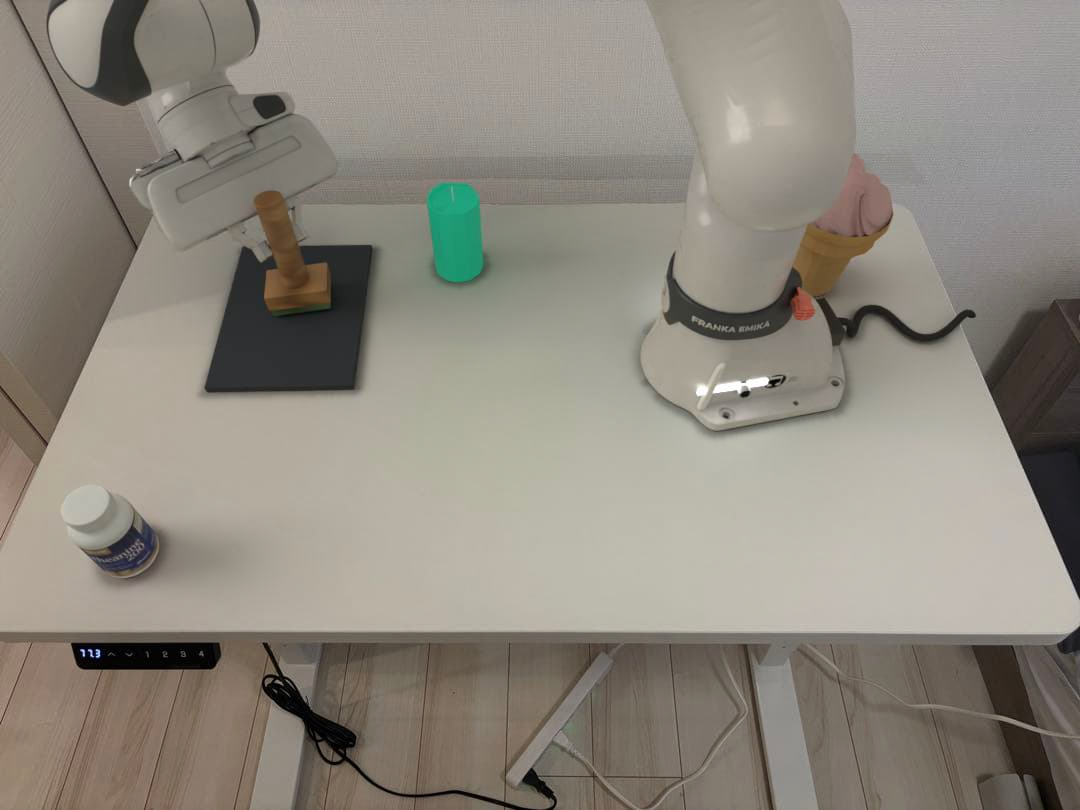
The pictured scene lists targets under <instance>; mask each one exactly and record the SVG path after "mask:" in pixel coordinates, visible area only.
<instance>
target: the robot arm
mask: <svg viewBox="0 0 1080 810" xmlns="http://www.w3.org/2000/svg"><path fill="white" fill-rule="evenodd" d="M644 1H645V3H646V5H647V8H648V10H649V12H650V15H651V17H652V19H653V22H654V24H655V27H656V30H657V33H658V36H659V39H660V42H661V44H662V48H663V51H664V53H665V58H666V61H667V64H668V68H669V70H670V74H671V76H672V79H673V83H674V85H675V88H676V91H677V94H678V97H679V100H680V102H681V105H682V109H683V111H684V113H685V116H686V119H687V121H688V125H689V127H690V129H691V132H692V134H693V138H694V141H695V149H694V156H693V160H692V167H691V171H690V177H689V183H688V188H687V194H686V199H685V204H684V209H683V214H682V219H681V223H680V228H679V233H678V239H677V244H676V249H675V250H674V252H673V253H672V255H671V257H670V260H669V263H668V266H667V270H666V274H665V276H664V278H663V279H664V280H663V285H662V290H661V297H660V307H661V308H660V311H659V312H658V315H657V318H656V319H655V322H654V324H653V326H652V327H651V328H650V330H649V332H648V333H647V335H646V336H645V338H644V339H643V341H642V344H641V347H640V353H639V357H640V359H639V361H640V365H641V370H642V372H643V374H644V376H645V378H646V380H647V381H648V383H649V384H650V386H651V387H652V388H653V389H654V390H655V391H656V392H657V393H658V394H659V395H660V396H661V397H663V398H664V399H666V400H667V401H669V402H670V403H672V404H674V405H676V406H677V407H679V408H682V409H684V410H686V411H688V412H689V413H691V414H692V415H693V416H694V417H695V418H696V419H697V420H698V421H699V422H700V423H701V424H702V425H703V426H704V427H705V428H707V429H708V430H710V431H715V432H720V431H726V430H731V429H736V428H741V427H746V426H747V427H748V426H752V425H757V424H763V423H766V422H773V421H778V420H783V419H789V418H794V417H800V416H803V415H808V414H809V415H810V414H815V413H819V412H824V411H830V410H834V409H836V408H838V406H839V404H840V403H841V400H842V398H843V394H844V391H845V384H846V376H845V368H844V363H843V359H842V356H841V352H840V349H839V347H838V346H840V345H841V343H842V341H843V340H844V337H845V335H846V336H847V337H848V338H854V337H855V336H856V335H857V334H858V332H859V327H860V326H861V325H860V324H861V322H862V320H863V317H864V316H865V315H866V314H868V313H875V314H879V315H881V316H882V317H884V318H885V319H886V320H887V321H889V322H890V323H891V324H892V325H893V326H894V327H895V328H896V329H897V330H898V331H899V332H900V333H902V334H903V335H905V336H906V337H908V338H910V339H911V340H914V341H917V342H925V343H926V342H928V343H929V342H934V341H938V340H940V339H942V338H944V337H946V336H948V335H949V334H951V333H952V332H953V331H954V330H956V329H957V327H958V326H960V324H961V323H962V322H963V321H965V320H966V319H967V318H969V319H975V318H976V317H977V313H976V312H975V311H974V310H972V309H967V308H965V309H964V310H962V311H960V312H959V313H958V314H957V315H956V316H955V317H954V318H953V319H952V320H951V321H950V322H948V324H947V325H946V326H944V327H942V328H941V329H940V330H938V331H936V332H935V331H934V332H932V333H921V332H918V331H916V330H913V329H912V328H910V327H909V326H908V325H906V323H904V322H903V321H902V320H901V319H900V318H899V317H898V316H897V315H896V314H894V313H893V312H892V311H891V310H889V309H887V308H886V307H884V306H882V305H878V304H867V305H864V306H862V307H860V308H859V309H858V310H857V311H856V312H855V314H854V315H853V318H852V319H850V318H847V317H841V316H837V314H836V312H834V310H833V308H832V307H831V305H830V304H829V301H828V300H827V299H826V297H821V298H814V296H811V295H810V294H809V293H807V292H806V291H803V290H801V288H802V285H803V283H802V279H801V276H800V274H799V272H798V271H797V270H796V269H795V268H794V264H793V263H794V261H795V258H796V255H797V252H798V250H799V247H800V244H801V242H802V239H803V236H804V234H805V231H806V228H807V225H808V224H810V223H812V222H813V221H815V220H817V219H818V218H820V217H821V216H822V215H824V214H825V213H826V212H827V211H828V210H829V209H830V208H831V207H832V206H833V204H834V203H835V202H836V200H837V199H838V197H839V195H840V193H841V191H842V188H843V185H844V182H845V179H846V176H847V173H848V170H849V166H850V163H851V159H852V155H853V152H854V150H855V148H856V147H855V146H856V141H857V119H856V99H855V78H854V57H853V56H854V54H853V53H854V52H853V51H854V50H853V35H852V29H851V25H850V22H849V19H848V17H847V15H846V13H845V11H844V9H843V6H842V4H841V3H840V1H839V0H644ZM45 20H46V22H45V23H46V24H45V25H46V34H47V38H48V43H49V46H50V48H51V51H52V54H53V56H54V58H55V60H56V62H57V64H58V65H59V67H60V69H61V70H62V72H63V73H64V74H65V76H66V77H67V78H68V79H69V80H70V81H71V83H73V85H75V86H76V87H78V88H79V89H81V90H83V91H84V92H86V93H88V94H90V95H92V96H94V97H96V98H98V99H100V100H102V101H105V102H108V103H110V104H113V105H116V106H120V107H126V106H128V105H129V106H130V105H131V104H133V103H136V102H138V101H140V100H143V99H145V100H146V101H147V102H148V104H149V106H150V109H151V111H152V113H153V116H154V119H155V122H156V124H157V125H158V127H159V128H160V130H161V132H162V134H163V135H164V137H165V139H166V140H167V141H168V143H169V144H170V146H171V147H172V149H173V150H171V151H169V152H167V153H164V154H163V155H160V156H158V157H157V158H155V159H153V160H152V161H150V162H144V163H142V164H140V165H138V166H137V167H136V168H135V169H134V171H135V172H134V173H133V174H132V175H131V176H130V178H129V183H128V184H129V185H128V186H129V190H130V193H131V194H132V195H133V197H134V198H135V200H136V201H137V203H138V205H140V206H141V207H142V208H143V209H145V210H147V211H149V212H151V215H152V217H153V219H154V221H155V223H156V225H157V227H158V229H159V231H160V233H161V235H162V236H163V238H164V240H165V242H166V243H167V245H168V246H169V248H170V249H172V250H174V251H177V252H179V253H184V252H186V251H188V250H190V249H192V248H194V247H197V246H199V245H201V244H203V243H204V242H206V241H209V240H210V239H213V238H214V237H216V236H219V235H221V234H223V233H224V232H226V231H227V232H228V234H229V235H230V237H231V238H232V240H233V241H235V242H237V243H238V244H240V245H242V246H245V247H247V248H249V249H252V251H253V252H254V254H255V256H256V257H257V259H258V260H259V261H260V262H263V261H265V260H267V259H269V258H270V257H272V256H274V253H273V251H272V250H271V249H269V243H268V241H267V239H266V240H264V241H261V242H259V241H258V242H257V241H256V240H255V239H253V238H252V237H250V236H248V235H246V234H245V233H246V232H247V228H246V226H245V224H244V223H245V222H246V221H249V220H250V219H252V218H255V217H256V216H258V213H257V210H256V208H255V205H254V198H255V197H256V196H257V195H258V194H260V193H262V192H264V191H269V190H274V191H278V192H280V193H281V194H282V195H283V199H284V202H285V205H286V208H287V211H288V212H290V211H291V212H290V213H291V214H290V215H291V223H292V226H293V229H294V232H295V235H296V238H297V241H298V244H299V243H301V242H303V241H305V240H307V239H308V238H309V234H308V232H307V230H306V228H305V226H304V225H303V223H302V203H301V201H300V199H299V198H298V195H300V194H302V193H305V192H306V191H309V190H310V189H312V188H314V187H316V186H318V185H320V184H322V183H325V182H327V181H328V180H330V179H332V178H333V177H334V176H336V174H337V173H338V168H339V161H338V159H337V157H336V155H335V153H334V151H333V150H332V148H331V146H330V144H328V142H327V141H326V139H325V138H324V136H323V135H322V133H321V132H320V131H319V129H318V128H317V127H316V125H315V124H314V123H313V122H312V121H311V120H310V119H309V118H308V117H307V116H305V115H302V114H299V113H295V110H296V103H295V101H294V99H293V98H292V96H291V94H290V93H288V92H286V91H276V92H275V91H274V92H261V93H246V94H245V93H244V94H243V93H242V94H240V93H239V92H238V90H237V89H236V87H235V85H233V83H232V81H230V80H229V78H228V76H227V70H228V69H229V68H231V67H234V66H237V65H239V64H240V63H242V62H243V61H245V60H246V59H248V58H249V57H250V56H252V55H253V54H254V52H255V50H256V48H257V45H258V42H259V38H260V32H261V17H260V14H259V10H258V8H257V5H256V3H255V0H50V2H49V5H48V10H47V13H46V19H45ZM138 177H139V178H138ZM845 327H846V329H845Z"/></svg>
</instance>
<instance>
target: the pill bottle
mask: <svg viewBox="0 0 1080 810" xmlns="http://www.w3.org/2000/svg"><path fill="white" fill-rule="evenodd" d="M60 515H61V518H62V520H63V521H64V522H65V523H66V524H67V525H66V529H67V535H68V537H69V539H70V540H71V541H72V543H74V544H75V545H76V547H78V548H79V549H80V550H81V551H82V552H83V553H84V554H85V555H86V556H87V557H89V559H91V560H92V562H94V563H95V564H96V565H97V566H98V567H99V568H100V569H101V570H102V571H103V572H105V573H106V575H108V576H110V577H112V578H116V579H127V578H132V577H135V576H138V575H140V574H141V573H143V572H144V571H146V570H147V569H149V568H150V567H151V565H153V563H154V561H155V560H156V558H157V556H158V554H159V551H160V540H159V537H158V535H157V534H156V532H155V531H154V530H153V528H152V527H151V525H149V524H148V522H147V521H146V520H145V519H144V518H143V517H142V515H141V514H140V513H139V512H138V511H137V509H136V508H135V507H134V506H133V504H131V502H130V501H129V500H128V499H127V498H126V497H125V496H124V495H123V496H122V495H121V494H118V493H116V492H111V491H109V490H108V489H106V487H104V486H102V485H99V484H84V485H81V486H79V487H77V488H76V489H74V490H72V491H71V492H70V493H69V494H68V495H67V496H66V497H65V498H64V500H63V501H62V503H61V506H60Z"/></svg>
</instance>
